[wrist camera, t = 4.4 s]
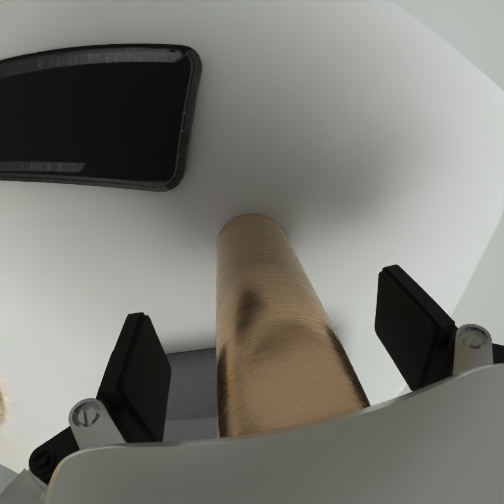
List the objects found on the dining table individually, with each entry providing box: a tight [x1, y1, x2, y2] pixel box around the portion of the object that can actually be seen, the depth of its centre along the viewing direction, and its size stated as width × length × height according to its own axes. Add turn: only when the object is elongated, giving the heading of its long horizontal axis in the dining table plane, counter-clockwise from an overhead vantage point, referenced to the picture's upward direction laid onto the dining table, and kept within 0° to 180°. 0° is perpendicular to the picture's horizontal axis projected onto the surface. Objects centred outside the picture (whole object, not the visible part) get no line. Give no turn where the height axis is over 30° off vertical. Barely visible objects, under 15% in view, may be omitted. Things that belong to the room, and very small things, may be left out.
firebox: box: [162, 348, 218, 442], centre depth 21 cm, size 16×14×6 cm
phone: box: [0, 44, 202, 192], centre depth 13 cm, size 8×1×15 cm
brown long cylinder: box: [216, 214, 371, 438], centre depth 10 cm, size 4×4×16 cm
